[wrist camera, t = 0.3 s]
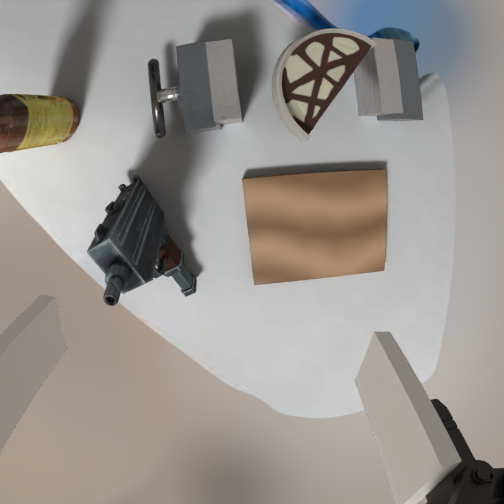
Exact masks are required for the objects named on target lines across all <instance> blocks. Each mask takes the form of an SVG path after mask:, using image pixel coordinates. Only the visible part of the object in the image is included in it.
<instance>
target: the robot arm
mask: <svg viewBox="0 0 504 504" xmlns="http://www.w3.org/2000/svg"><path fill="white" fill-rule="evenodd" d="M66 350H67V345H66V341H65V338H64V334H63V330H62V325H61V321H60V317H59V312H58V308H57V303H56V298H55V297H53V296H48V295H43V294H42V295H41V296H40V297H38V298H37V299H36V300H35V301H34V302H33V303H32V304H31V305H30V306H29V307H28V308H27V309H26V310H25V311H24V312H23V313H22V314H21V315H20V316H19V317H18V318H17V319H16V320H15V321H14V322H13V323H12V324H11V325H10V326H9V327H8V328H7V329H6V330H5V331H4V332H3V333H2V334H1V335H0V453H1V451H2V449H3V447H4V446H5V444H6V442H7V440H8V439H9V437H10V435H11V433H12V432H13V430H14V429H15V427H16V425H17V424H18V422H19V420H20V419H21V417H22V415H23V414H24V412H25V411H26V409H27V407H28V406H29V404H30V403H31V401H32V400H33V398H34V397H35V395H36V393H37V392H38V390H39V389H40V387H41V386H42V384H43V383H44V381H45V380H46V378H47V377H48V376H49V374H50V373H51V371H52V370H53V368H54V367H55V365H56V364H57V362H58V361H59V360H60V358H61V357H62V355H63V354H64V353H65V351H66ZM355 383H356V386H357V389H358V391H359V394H360V397H361V400H362V402H363V405H364V408H365V411H366V414H367V416H368V419H369V422H370V425H371V428H372V431H373V434H374V437H375V440H376V443H377V446H378V449H379V452H380V455H381V458H382V461H383V464H384V467H385V470H386V473H387V476H388V480H389V483H390V486H391V490H392V493H393V496H394V499H395V503H396V504H417V503H418V502H419V501H420V500H421V499H423V497H425V496H426V498H427V501H428V502H427V503H426V504H504V468H495V469H493V468H492V467H491V466H490V465H489V464H488V463H487V462H485V461H481V460H475V458H474V457H473V455H472V453H471V451H470V449H469V447H468V445H467V443H466V441H465V440H464V437H463V436H462V434H461V432H460V430H459V429H457V425H456V423H455V421H454V420H453V417H452V416H451V414H450V412H449V410H448V409H447V407H446V406H445V405H443V404H442V403H441V402H440V401H439V400H438V399H433V400H430V399H429V397H428V395H427V394H426V392H425V390H424V388H423V387H422V385H421V383H420V381H419V379H418V378H417V376H416V374H415V373H414V371H413V369H412V367H411V366H410V364H409V362H408V361H407V359H406V357H405V356H404V354H403V352H402V351H401V349H400V347H399V346H398V344H397V342H396V341H395V339H394V337H393V336H392V334H391V333H390V332H374V333H373V336H372V339H371V341H370V344H369V347H368V349H367V352H366V355H365V357H364V360H363V362H362V365H361V367H360V370H359V372H358V375H357V377H356V379H355Z"/></svg>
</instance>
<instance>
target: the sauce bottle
mask: <svg viewBox="0 0 504 504" xmlns="http://www.w3.org/2000/svg"><path fill="white" fill-rule="evenodd" d="M78 122H79V114H78V109H77V107H76V105H75V104H74V103H73V102H72V101H71V100H69V99H65V98H63V97H56V96H42V95H27V94H24V95H23V94H3V95H0V153H3V152H13V151H19V150H24V149H29V148H35V147H41V146H47V145H54V144H58V143H60V142H65V141H66V140H68V139H69V138H70V137H71V136H72V135H73V133H74V132H75V130H76V128H77V125H78Z"/></svg>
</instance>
